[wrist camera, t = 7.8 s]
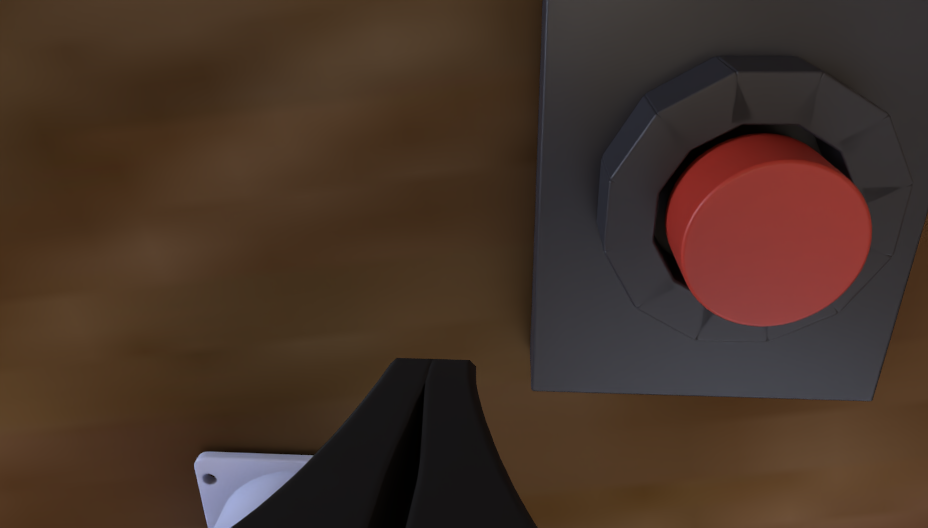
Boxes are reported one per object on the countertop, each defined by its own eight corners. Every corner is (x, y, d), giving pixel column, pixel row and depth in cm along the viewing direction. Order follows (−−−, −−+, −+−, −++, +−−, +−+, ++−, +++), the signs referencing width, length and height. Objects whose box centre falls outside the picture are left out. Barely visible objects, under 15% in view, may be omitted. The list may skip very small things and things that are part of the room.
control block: (843, 360, 23) (902, 443, 20) (529, 351, 24) (532, 430, 20) (961, -91, 18) (1075, -89, 14) (545, -87, 18) (552, -84, 15)
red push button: (817, 287, 18) (850, 330, 17) (655, 284, 19) (670, 326, 17) (853, 132, 17) (894, 161, 15) (674, 130, 17) (693, 159, 15)
